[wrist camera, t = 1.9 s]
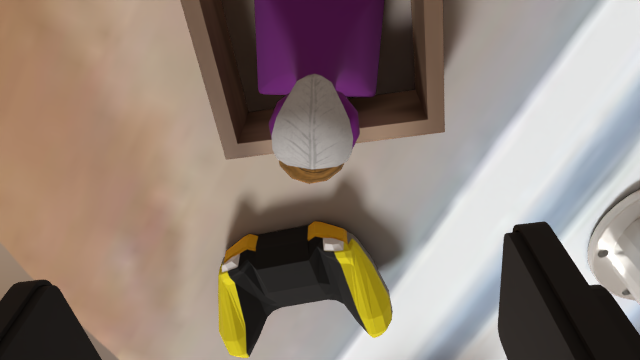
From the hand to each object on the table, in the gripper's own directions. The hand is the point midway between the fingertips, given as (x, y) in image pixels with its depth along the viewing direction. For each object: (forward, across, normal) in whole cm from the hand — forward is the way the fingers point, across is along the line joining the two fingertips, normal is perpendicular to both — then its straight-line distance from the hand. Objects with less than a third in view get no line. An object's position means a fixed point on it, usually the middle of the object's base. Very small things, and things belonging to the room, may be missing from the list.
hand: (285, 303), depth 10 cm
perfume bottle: (+25, -1, 0) cm, 25 cm away
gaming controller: (+25, +4, +21) cm, 33 cm away
